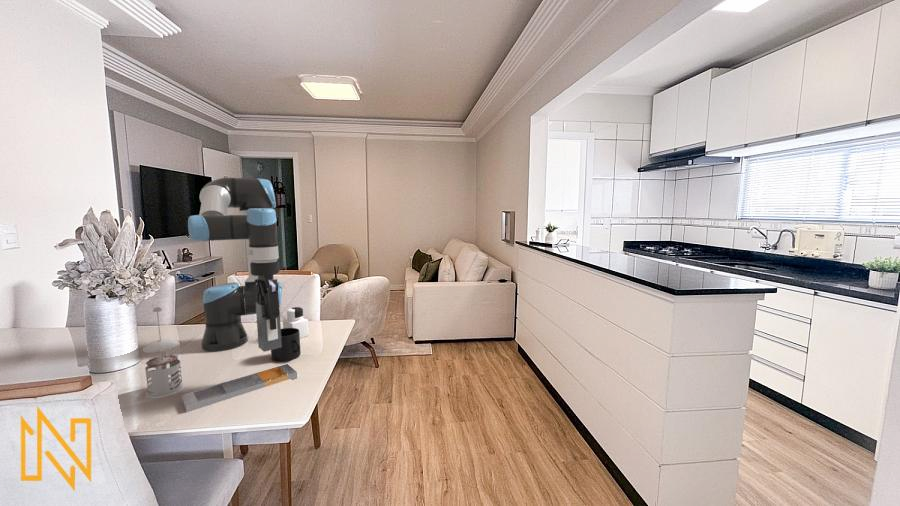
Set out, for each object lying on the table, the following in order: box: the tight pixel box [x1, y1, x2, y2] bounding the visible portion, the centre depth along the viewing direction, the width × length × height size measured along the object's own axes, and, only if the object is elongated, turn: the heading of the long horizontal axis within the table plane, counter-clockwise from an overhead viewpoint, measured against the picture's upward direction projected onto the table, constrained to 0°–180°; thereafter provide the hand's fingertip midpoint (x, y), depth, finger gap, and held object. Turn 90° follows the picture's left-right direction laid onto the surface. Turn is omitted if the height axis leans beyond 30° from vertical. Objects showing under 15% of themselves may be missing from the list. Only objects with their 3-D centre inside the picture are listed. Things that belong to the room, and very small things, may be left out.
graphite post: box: [255, 301, 282, 353], centre depth 107 cm, size 5×5×14 cm
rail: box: [180, 363, 298, 413], centre depth 103 cm, size 8×28×2 cm, turn 134°
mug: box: [270, 327, 301, 363], centre depth 125 cm, size 9×12×9 cm
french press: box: [142, 306, 186, 399], centre depth 101 cm, size 10×12×25 cm
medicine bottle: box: [282, 306, 310, 339], centre depth 145 cm, size 7×7×12 cm
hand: (269, 336), depth 107 cm, fingers closed on graphite post, 5 cm apart
